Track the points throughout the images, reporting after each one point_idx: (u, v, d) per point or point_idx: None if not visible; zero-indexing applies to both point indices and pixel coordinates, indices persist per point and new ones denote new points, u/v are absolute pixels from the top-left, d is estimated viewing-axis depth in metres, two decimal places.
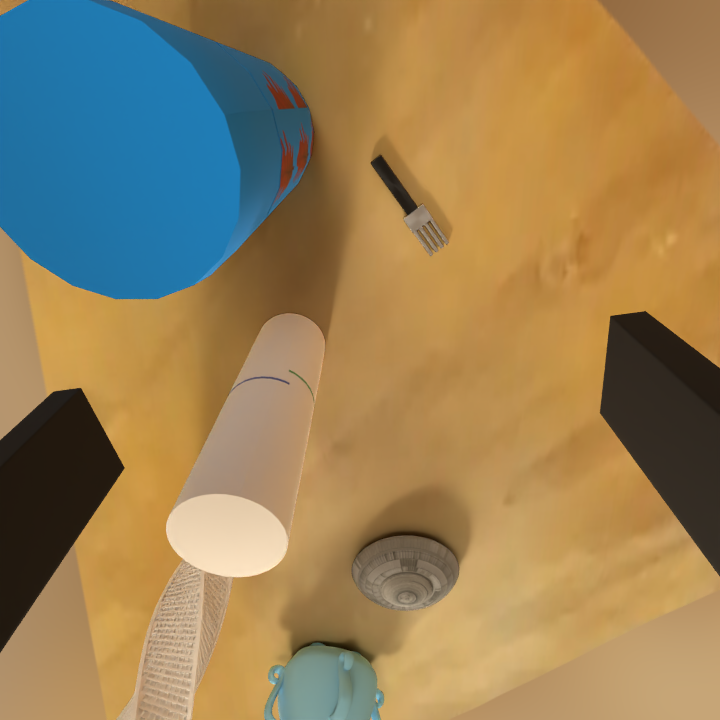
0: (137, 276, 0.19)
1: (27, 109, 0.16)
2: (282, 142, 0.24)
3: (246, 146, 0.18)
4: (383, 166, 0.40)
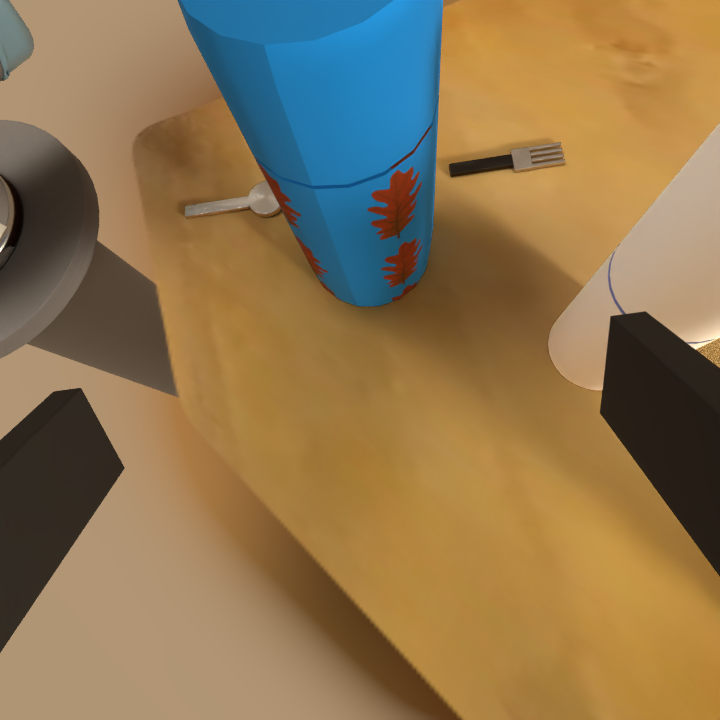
0: None
1: None
2: None
3: None
4: (459, 165, 0.42)
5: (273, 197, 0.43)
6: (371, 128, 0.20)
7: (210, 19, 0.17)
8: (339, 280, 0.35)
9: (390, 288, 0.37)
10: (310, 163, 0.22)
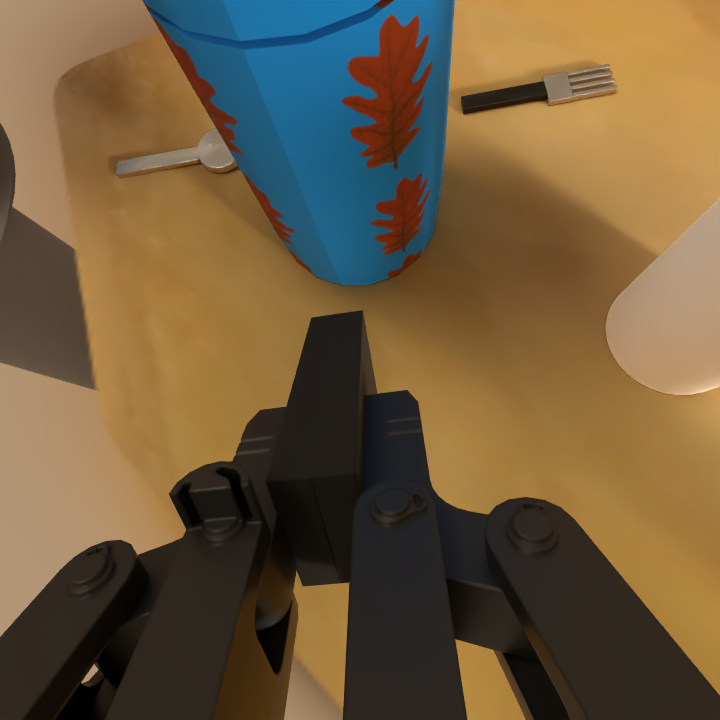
0: None
1: None
2: None
3: None
4: (475, 98, 0.32)
5: None
6: None
7: None
8: (312, 244, 0.25)
9: (385, 257, 0.26)
10: None
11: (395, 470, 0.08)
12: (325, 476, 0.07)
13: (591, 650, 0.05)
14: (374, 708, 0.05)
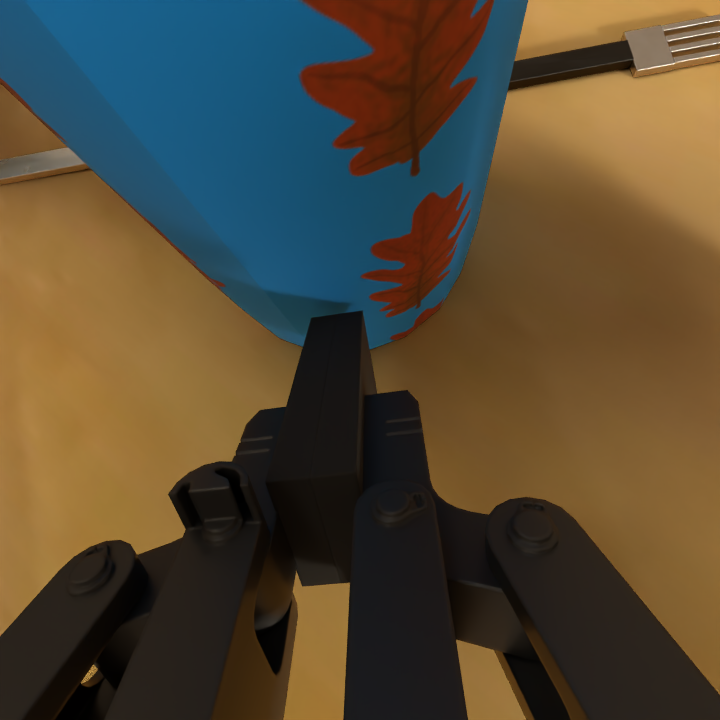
0: None
1: None
2: None
3: None
4: (521, 66, 0.21)
5: None
6: None
7: None
8: (260, 304, 0.14)
9: (387, 319, 0.16)
10: None
11: (395, 470, 0.08)
12: (325, 476, 0.07)
13: (591, 650, 0.05)
14: (375, 708, 0.05)
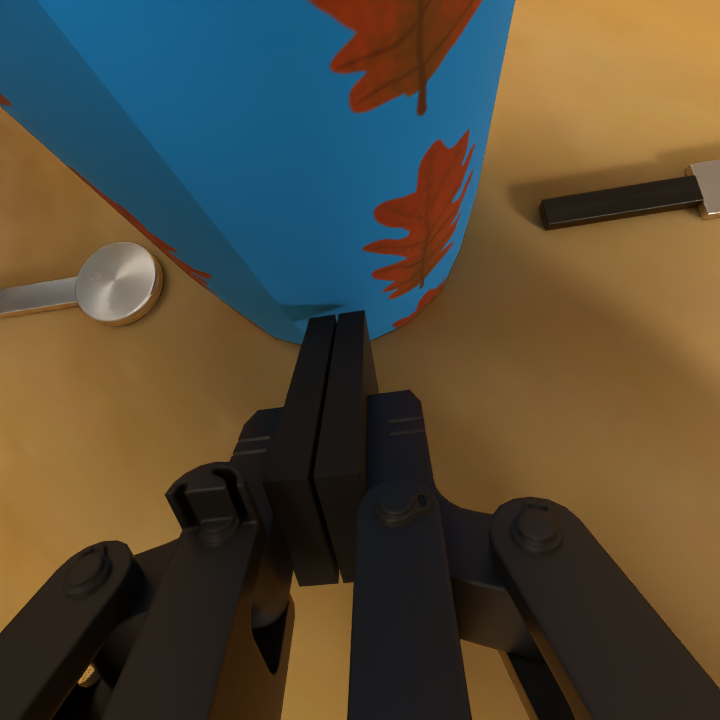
0: None
1: None
2: None
3: None
4: (568, 204, 0.17)
5: (131, 282, 0.19)
6: None
7: None
8: (251, 296, 0.13)
9: (390, 302, 0.14)
10: None
11: (398, 471, 0.08)
12: (329, 476, 0.07)
13: (596, 650, 0.05)
14: (379, 708, 0.05)
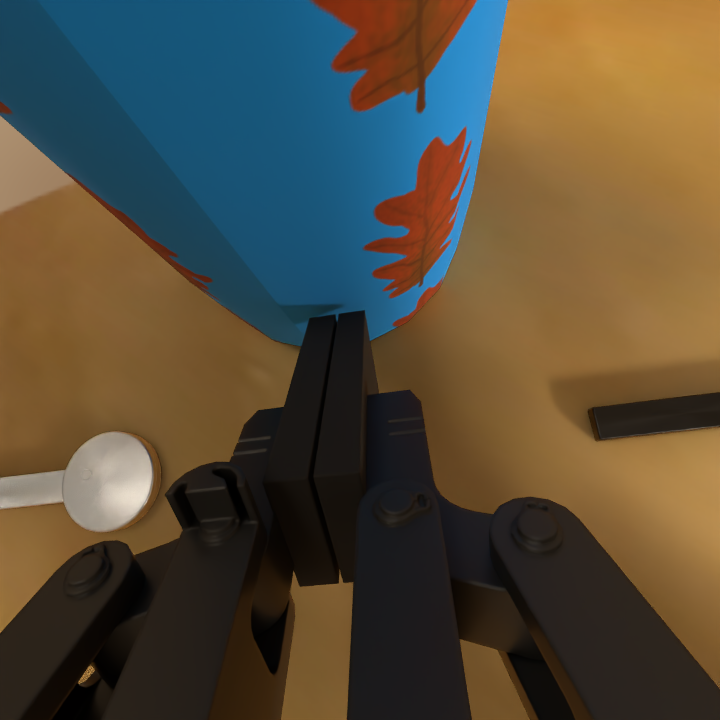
0: None
1: None
2: None
3: None
4: (622, 415, 0.15)
5: (125, 484, 0.17)
6: None
7: None
8: (252, 298, 0.13)
9: (390, 301, 0.14)
10: None
11: (398, 470, 0.08)
12: (329, 476, 0.07)
13: (596, 650, 0.05)
14: (378, 708, 0.05)
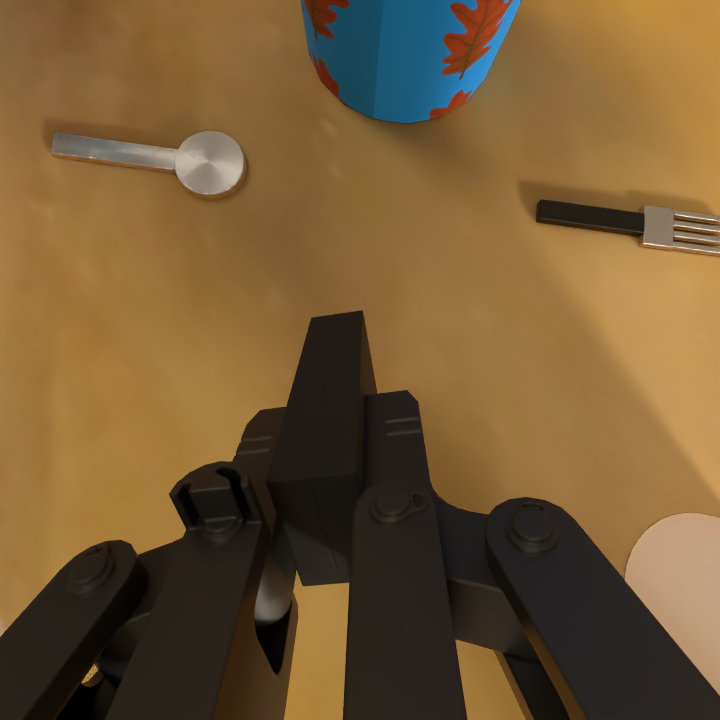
0: None
1: None
2: None
3: None
4: (557, 207, 0.24)
5: (223, 167, 0.24)
6: None
7: None
8: (365, 32, 0.20)
9: (440, 78, 0.22)
10: None
11: (395, 470, 0.08)
12: (325, 476, 0.07)
13: (591, 650, 0.05)
14: (374, 708, 0.05)
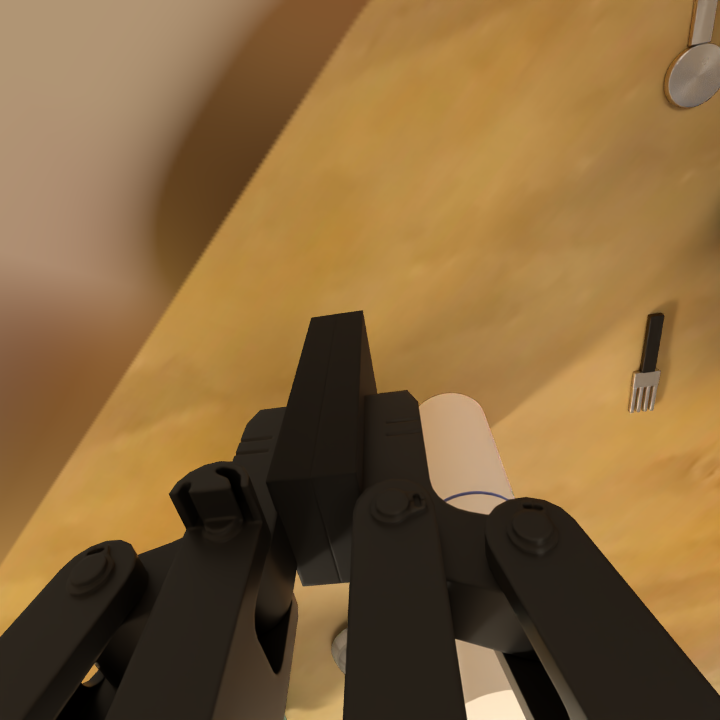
0: None
1: None
2: None
3: None
4: (658, 325, 0.39)
5: (692, 90, 0.30)
6: None
7: None
8: None
9: None
10: None
11: (395, 470, 0.08)
12: (325, 476, 0.07)
13: (591, 650, 0.05)
14: (374, 708, 0.05)
